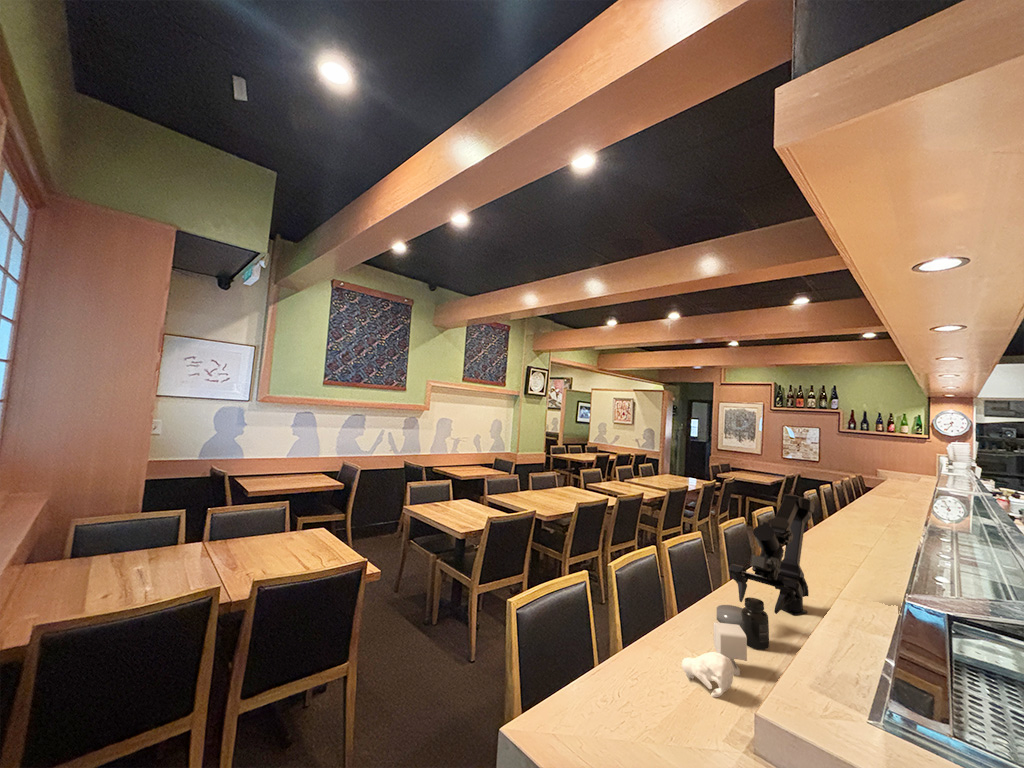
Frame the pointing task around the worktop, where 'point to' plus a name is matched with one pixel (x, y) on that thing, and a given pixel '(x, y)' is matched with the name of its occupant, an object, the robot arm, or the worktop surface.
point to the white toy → (710, 671)
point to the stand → (729, 614)
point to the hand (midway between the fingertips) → (757, 606)
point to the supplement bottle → (755, 624)
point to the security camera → (730, 643)
